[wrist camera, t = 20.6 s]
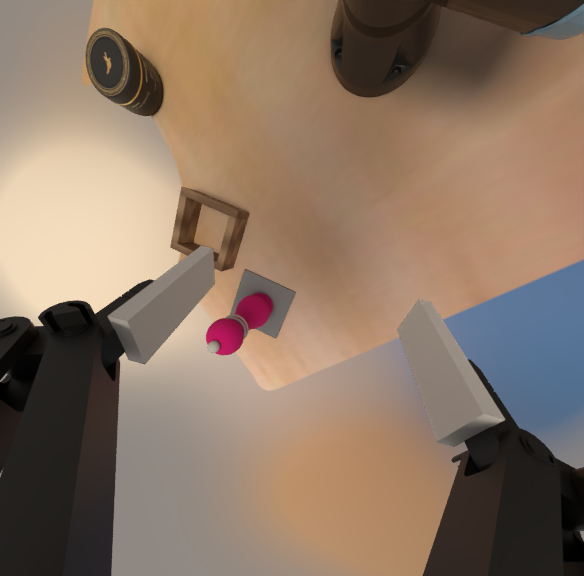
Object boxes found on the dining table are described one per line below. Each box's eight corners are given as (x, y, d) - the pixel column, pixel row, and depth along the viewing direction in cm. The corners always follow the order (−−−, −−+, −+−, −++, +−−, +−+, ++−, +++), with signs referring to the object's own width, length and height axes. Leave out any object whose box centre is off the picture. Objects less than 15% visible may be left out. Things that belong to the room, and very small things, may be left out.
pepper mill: (276, 319, 49) (236, 373, 30) (249, 318, 51) (194, 369, 32) (273, 289, 47) (228, 327, 28) (244, 290, 49) (184, 326, 30)
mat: (245, 269, 48) (244, 269, 47) (295, 292, 46) (295, 292, 46) (230, 315, 52) (229, 315, 52) (276, 337, 51) (275, 338, 50)
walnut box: (198, 191, 46) (181, 186, 41) (249, 213, 44) (238, 210, 40) (186, 246, 50) (170, 247, 45) (233, 267, 48) (221, 271, 44)
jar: (151, 49, 41) (109, 9, 33) (174, 102, 42) (139, 75, 35) (118, 80, 44) (74, 50, 36) (141, 129, 45) (103, 109, 38)
